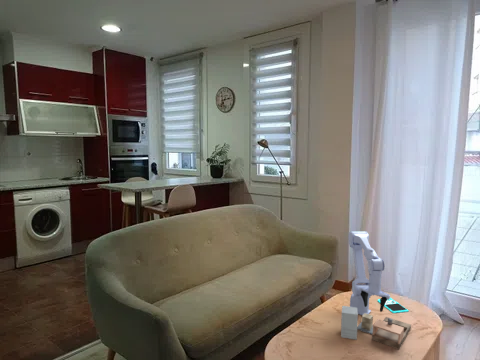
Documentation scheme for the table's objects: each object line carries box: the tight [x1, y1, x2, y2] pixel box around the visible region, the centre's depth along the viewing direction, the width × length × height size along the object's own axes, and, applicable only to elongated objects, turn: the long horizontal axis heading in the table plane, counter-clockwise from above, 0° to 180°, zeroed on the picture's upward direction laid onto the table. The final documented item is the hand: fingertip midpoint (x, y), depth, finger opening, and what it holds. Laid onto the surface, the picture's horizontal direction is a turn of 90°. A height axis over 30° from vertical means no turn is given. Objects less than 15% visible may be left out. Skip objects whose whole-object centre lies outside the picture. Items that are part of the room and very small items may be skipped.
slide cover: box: [373, 317, 405, 344], centre depth 158 cm, size 12×7×7 cm, turn 51°
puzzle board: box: [371, 316, 412, 350], centre depth 164 cm, size 12×22×2 cm, turn 141°
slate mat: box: [357, 321, 373, 336], centre depth 169 cm, size 8×8×1 cm
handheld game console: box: [377, 297, 409, 314], centre depth 192 cm, size 10×16×1 cm, turn 12°
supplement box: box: [340, 305, 359, 341], centre depth 162 cm, size 7×7×13 cm
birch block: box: [361, 313, 374, 330], centre depth 168 cm, size 4×4×6 cm
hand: (373, 308), depth 169 cm, fingers open, 7 cm apart
